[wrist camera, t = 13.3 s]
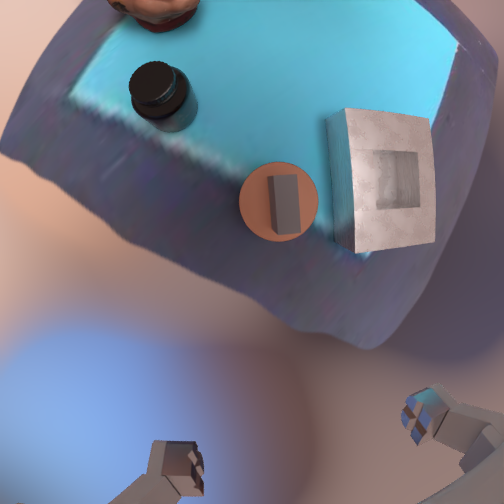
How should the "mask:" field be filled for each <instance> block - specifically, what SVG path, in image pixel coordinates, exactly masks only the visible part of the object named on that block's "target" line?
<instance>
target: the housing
mask: <svg viewBox="0 0 504 504" xmlns="http://www.w3.org/2000/svg"><path fill="white" fill-rule="evenodd" d="M325 122H326V130H327V139H328V148H329V158H330V169H331V182H332V196H333V214H334V240H335V242H336V243H338V244H340V245H341V246H343V247H345V248H347V249H348V250H350V251H352V252H354V253H362V252H369V251H376V250H383V249H390V248H397V247H404V246H411V245H418V244H424V243H431V242H435V217H436V199H435V172H434V158H433V148H432V139H431V131H430V124H429V119H428V118H422V117H417V116H411V115H405V114H398V113H391V112H384V111H375V110H365V109H354V108H344V109H342V110H340V111H338V112H337V113H335V114H333V115H332V116H330V117H328V118H327V119H325Z"/></svg>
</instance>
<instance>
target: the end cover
mask: <svg viewBox="0 0 504 504" xmlns="http://www.w3.org/2000/svg"><path fill="white" fill-rule="evenodd" d="M239 207H240V212H241V215H242V217H243V219H244V221H245V223H246V225H247V226H248V227H249V228H250V230H252V231H253V232H254V233H255V234H256V235H258V236H260V237H261V238H264V239H266V240H270V241H277V242H279V241H288V240H291V239H294V238H296V237H298V236H299V235H301V234H302V233H304V232H305V231H306V230H307V229H308V228H309V227H310V225H311V224H312V222H313V220H314V219H315V216H316V213H317V209H318V194H317V190H316V187H315V185H314V183H313V181H312V179H311V178H310V177H309V175H308V174H307V173H306V172H304V171H303V170H302V169H301V168H299V167H297V166H295V165H293V164H290V163H285V162H273V163H268V164H265V165H263V166H261V167H259V168H257V169H256V170H254V171H253V172H252V173H251V174H250V175H249V176H248V177H247V179H246V180H245V182H244V183H243V185H242V188H241V191H240V196H239Z"/></svg>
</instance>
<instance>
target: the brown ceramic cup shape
mask: <svg viewBox="0 0 504 504" xmlns="http://www.w3.org/2000/svg"><path fill="white" fill-rule="evenodd" d="M107 1H108V2H109V4H110V5H111V6H112V7H113V8H114V9H115V10H117V11H119V12H121V13H124V14H128V15H130V16H132V17H133V18H134V19H135V20H136V21H137V22H138V23H139V24H140V25H141V26H142V27H143V28H145V29H148V30H149V31H151V32H165V31H169V30H172V29H175V28H177V27H179V26H181V25H183V24H184V23H186V22H187V21H188V20H189V19H190V18H191V17H192V16H193V15H194V13H195V12H196V9H197V5H198V4H199V2H200V0H107Z"/></svg>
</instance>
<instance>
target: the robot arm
mask: <svg viewBox="0 0 504 504" xmlns="http://www.w3.org/2000/svg"><path fill="white" fill-rule="evenodd" d="M406 404H407V405H406V406H405V408H404V409H403V410H402V413H401V421H402V423H403V426H404V427H405V429H407V430H410V431H411V435H410V436H411V437H412V439H413V440H414V442H415V443H416V444H417V446H418V445H421V444H423V443H425V442H427V441H429V440H431V439H433V438H434V440H436V441H438V442H440V443H442V444H444V445H446V446H449V447H451V448H453V449H455V450H457V451H459V452H462V453H464V454H465V455H464V457H463V458H462V459H461V460H460V462H459V466H460V467H461V469H462V470H463V471H464V473H465V474H464V475H463V476H461V477H460V478H459V479H457V480H455V481H454V482H452V483H451V484H450V485H448V486H446V487H445V488H443V489H442V490H440V491H438V492H437V493H435V494H433V495H432V496H430V497H428V498H426V499H424V500H423V501H421V502H419V503H417V504H504V414H503V413H499V412H495V411H491V410H487V409H483V408H479V407H476V406H471V405H468V404H464V403H461V404H459V403H458V402H457V401H456V400H455V399H454V398H453V397H452V396H451V394H450V393H449V392H448V391H447V390H446V389H445V388H444V387H443V386H442V385H441V384H439V383H436V384H434V385H432V386H430V387H428V388H425V389H423V390H421V391H419V392H416V393H414V394H412V395H409V397H407V399H406ZM203 474H204V462H203V457H202V455H201V453H200V452H199V451H198V446H197V444H196V442H195V441H162V440H161V441H160V440H154V442H153V443H152V448H151V452H150V457H149V462H148V468H147V473H146V474H142V475H141V476H140V477H139V478H138V479H136V480H135V481H134V482H133V483H132V484H131V485H130V486H128V487H127V488H126V489H125V490H124V491H123V492H121V494H119V495H118V496H117V497H116V498H114V499H113V500H112V501H111V502H110V503H108V504H177V502H178V501H179V500H180V499H181V496H204V482H203V480H202V478H201V476H202V475H203ZM17 504H23V503H17Z"/></svg>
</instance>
